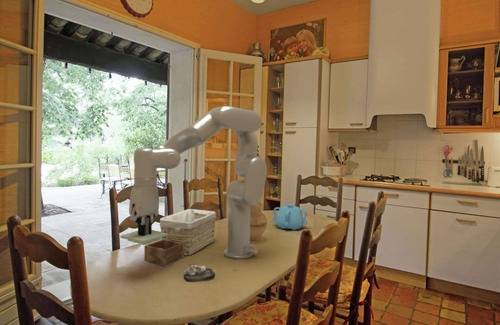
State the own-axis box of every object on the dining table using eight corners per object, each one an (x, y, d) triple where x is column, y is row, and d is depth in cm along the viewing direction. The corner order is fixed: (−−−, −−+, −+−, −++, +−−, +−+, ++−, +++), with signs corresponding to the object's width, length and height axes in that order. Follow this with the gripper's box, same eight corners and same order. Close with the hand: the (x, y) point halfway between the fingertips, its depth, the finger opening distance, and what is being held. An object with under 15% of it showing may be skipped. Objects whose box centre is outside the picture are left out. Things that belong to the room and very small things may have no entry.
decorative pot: (282, 232, 172) (283, 207, 171) (270, 225, 187) (271, 202, 186) (309, 230, 178) (310, 206, 177) (295, 223, 193) (295, 201, 192)
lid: (167, 238, 116) (168, 217, 116) (143, 246, 107) (143, 223, 106) (145, 233, 122) (145, 212, 122) (120, 241, 112) (120, 218, 112)
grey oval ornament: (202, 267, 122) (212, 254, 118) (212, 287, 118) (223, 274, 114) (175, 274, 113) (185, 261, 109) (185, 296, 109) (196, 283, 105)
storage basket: (189, 257, 131) (190, 222, 131) (157, 252, 138) (157, 218, 137) (217, 241, 154) (217, 211, 153) (188, 237, 160) (188, 208, 159)
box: (183, 257, 131) (183, 243, 130) (164, 266, 122) (164, 250, 121) (163, 253, 136) (163, 239, 136) (144, 260, 127) (144, 245, 126)
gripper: (154, 180, 122) (153, 228, 123) (119, 184, 108) (118, 238, 109) (169, 182, 118) (168, 231, 119) (134, 186, 104) (134, 241, 105)
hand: (144, 234), depth 114 cm, fingers closed on lid
